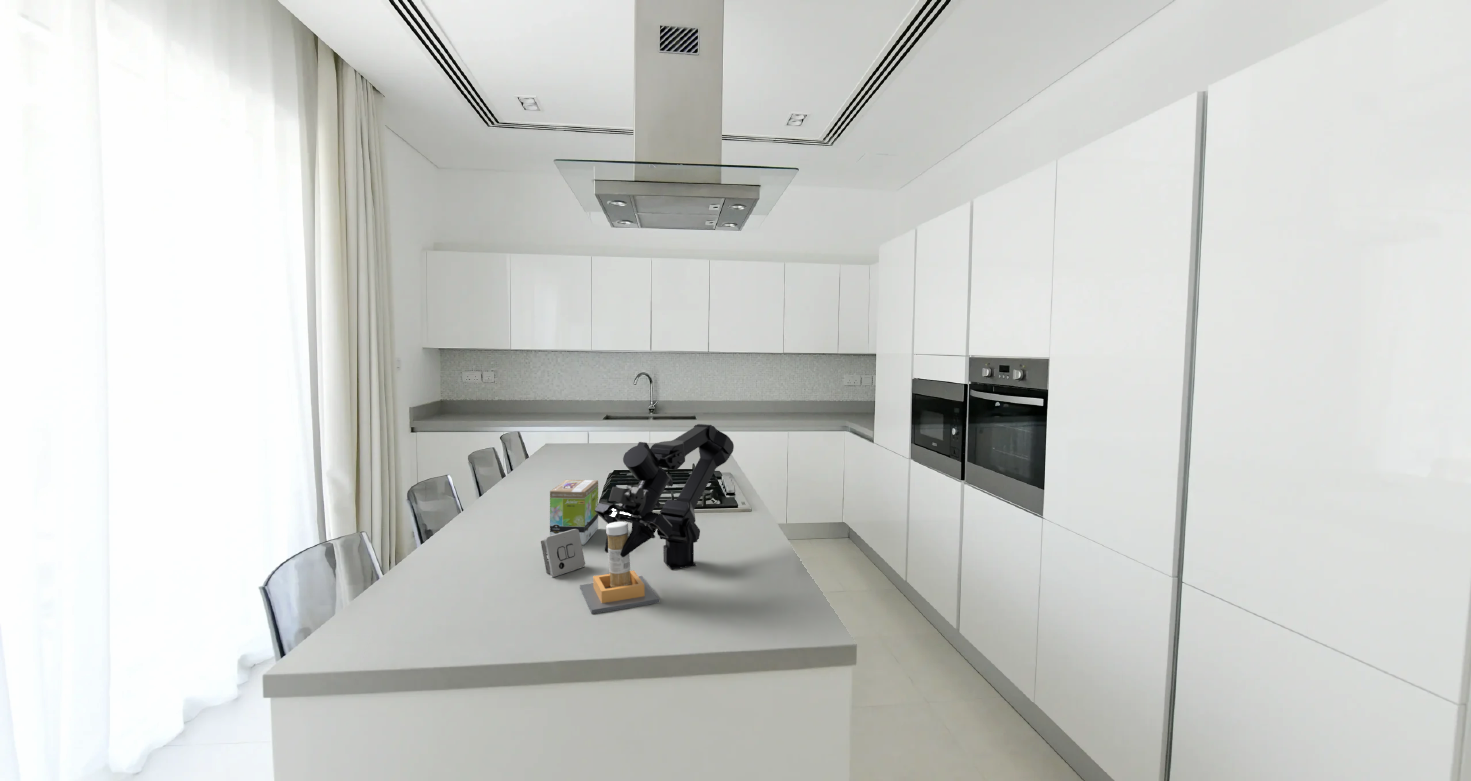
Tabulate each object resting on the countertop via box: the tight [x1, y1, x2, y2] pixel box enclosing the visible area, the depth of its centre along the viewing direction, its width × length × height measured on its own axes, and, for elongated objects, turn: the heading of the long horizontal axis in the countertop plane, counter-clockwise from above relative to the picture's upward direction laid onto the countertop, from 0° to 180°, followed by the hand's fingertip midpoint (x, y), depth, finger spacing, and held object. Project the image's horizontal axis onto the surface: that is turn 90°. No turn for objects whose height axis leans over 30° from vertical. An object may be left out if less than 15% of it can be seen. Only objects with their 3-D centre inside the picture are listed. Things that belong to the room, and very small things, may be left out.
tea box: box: [549, 479, 599, 546], centre depth 174 cm, size 15×10×15 cm
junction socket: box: [579, 570, 660, 615], centre depth 134 cm, size 14×14×3 cm
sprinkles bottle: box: [605, 521, 631, 588], centre depth 134 cm, size 5×5×14 cm
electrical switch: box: [540, 529, 586, 578], centre depth 149 cm, size 9×5×9 cm, turn 141°
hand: (613, 553), depth 133 cm, fingers closed on sprinkles bottle, 4 cm apart
